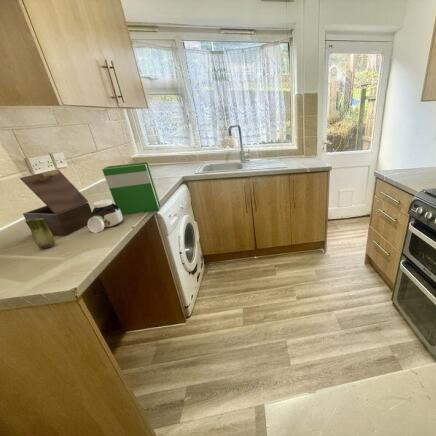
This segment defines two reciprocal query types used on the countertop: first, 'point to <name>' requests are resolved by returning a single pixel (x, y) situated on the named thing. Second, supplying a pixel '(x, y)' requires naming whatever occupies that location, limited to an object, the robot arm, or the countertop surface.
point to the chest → (62, 218)
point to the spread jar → (104, 216)
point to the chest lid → (55, 190)
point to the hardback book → (132, 188)
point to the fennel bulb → (41, 233)
